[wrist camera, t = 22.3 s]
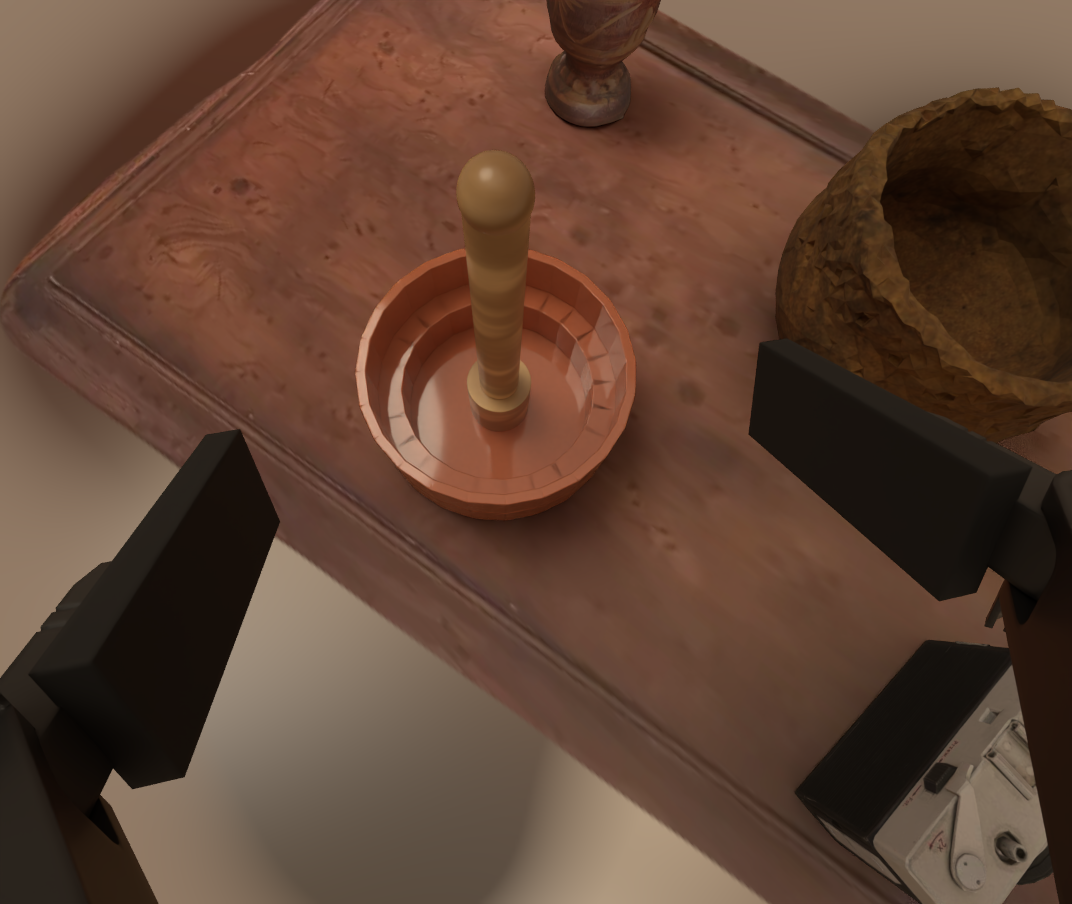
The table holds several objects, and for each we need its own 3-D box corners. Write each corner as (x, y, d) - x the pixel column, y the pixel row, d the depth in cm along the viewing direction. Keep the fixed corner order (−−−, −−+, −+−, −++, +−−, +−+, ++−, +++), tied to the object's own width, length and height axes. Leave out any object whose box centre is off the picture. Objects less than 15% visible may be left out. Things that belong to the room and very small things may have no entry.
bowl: (695, 413, 39) (811, 305, 24) (768, 214, 43) (900, 26, 29) (944, 518, 38) (1217, 470, 23) (989, 302, 43) (1238, 153, 28)
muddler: (496, 443, 36) (487, 242, 16) (458, 400, 37) (403, 155, 16) (540, 407, 37) (586, 173, 17) (502, 366, 38) (502, 92, 17)
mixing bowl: (484, 572, 35) (480, 566, 28) (335, 394, 37) (298, 349, 31) (658, 419, 38) (692, 382, 31) (511, 266, 41) (512, 200, 34)
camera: (874, 911, 31) (1036, 1043, 21) (772, 764, 33) (878, 823, 23) (1030, 761, 34) (1236, 818, 24) (927, 633, 36) (1079, 639, 26)
